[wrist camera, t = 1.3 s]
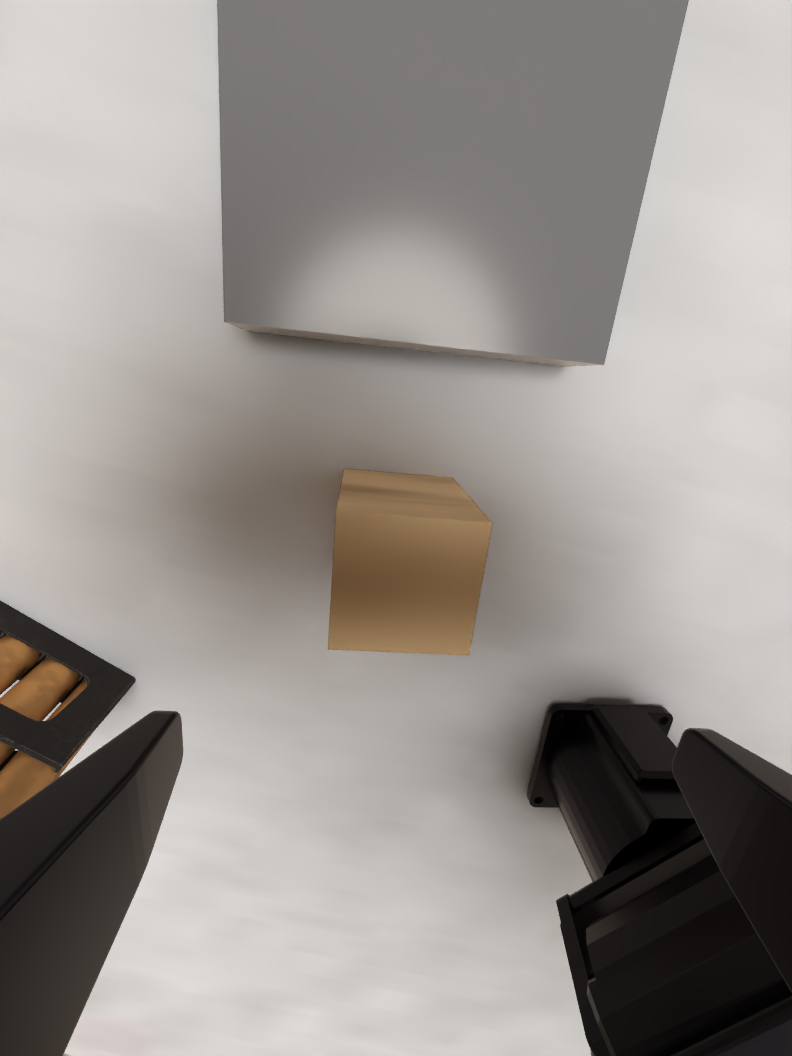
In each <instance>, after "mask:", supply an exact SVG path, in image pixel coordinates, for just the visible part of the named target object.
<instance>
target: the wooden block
mask: <svg viewBox="0 0 792 1056" xmlns="http://www.w3.org/2000/svg"><path fill="white" fill-rule="evenodd" d="M491 528H492V522H491V520H490V519H489V518H488V517H487V516H486V515H485V514H484V512H483V511H482V510H481V509H480V508H479V507H478V506H477V505H476V503H475V502H474V501H473V500H472V499H471V498H470V497H469V496H468V494H467V493H466V492H465V491H464V490H463V489H462V488H461V486H460V485H459V484H458V483H457V482H456V481H455V480H454V479H453V478H449V477H437V476H425V475H413V474H401V473H389V472H377V471H365V470H353V469H344V473H343V478H342V483H341V488H340V493H339V498H338V503H337V508H336V519H335V536H334V553H333V570H332V588H331V605H330V622H329V639H328V649H333V650H356V651H379V652H402V653H426V654H449V655H469V653H470V647H471V642H472V636H473V630H474V625H475V619H476V613H477V608H478V602H479V596H480V591H481V585H482V579H483V574H484V568H485V562H486V557H487V551H488V545H489V540H490V534H491Z"/></svg>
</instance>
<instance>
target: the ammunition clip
mask: <svg viewBox="0 0 792 1056" xmlns="http://www.w3.org/2000/svg"><path fill="white" fill-rule="evenodd" d="M17 680H20V681H19V682H18V683H17V684H16V685H15V686H14V687H13V688H11V689H10V690H9V691H8V692H7V693H6V694H5V695H4V696H3V697H1V698H0V819H1V818H2V817H4V816H5V815H7V814H8V813H9V812H11V811H12V810H14V809H15V808H16V807H18V806H19V805H21V804H22V803H24V802H25V801H26V800H28V799H29V798H31V797H32V796H33V795H35V794H36V793H38V792H39V791H40V790H42V789H43V788H45V787H46V786H48V785H49V784H50V783H52V782H53V781H55V780H56V779H57V778H58V777H59V776H60V775H61V773H62V772H63V771H64V769H65V768H66V767H67V766H68V764H69V763H70V762H71V760H72V759H73V758H74V756H75V755H76V754H77V753H78V751H79V750H80V749H81V747H82V746H83V745H84V743H85V742H86V741H87V740H88V738H89V737H90V736H91V734H92V733H93V732H94V730H95V729H96V728H97V727H98V726H99V725H100V723H101V722H102V721H103V720H104V719H105V717H106V716H107V715H108V714H109V713H110V712H111V710H112V709H113V708H114V707H115V706H116V704H117V703H118V702H119V701H120V700H121V698H122V697H123V696H124V695H125V694H126V692H127V691H128V690H129V689H130V687H131V686H132V685H133V684H134V683H135V678H134V677H133V676H131V675H129V674H127V673H126V672H124V671H122V670H120V669H119V668H117V667H115V666H113V665H112V664H110V663H108V662H106V661H105V660H103V659H101V658H99V657H98V656H96V655H94V654H92V653H91V652H89V651H87V650H85V649H84V648H82V647H80V646H78V645H77V644H75V643H73V642H71V641H70V640H68V639H66V638H64V637H63V636H61V635H59V634H58V633H56V632H54V631H52V630H51V629H49V628H47V627H45V626H44V625H42V624H40V623H38V622H37V621H35V620H33V619H31V618H30V617H28V616H26V615H24V614H23V613H21V612H19V611H17V610H16V609H14V608H12V607H10V606H9V605H7V604H5V603H3V602H2V601H0V694H2V693H3V692H4V691H5V690H6V689H7V688H8V687H10V686H11V685H12V684H13V683H14V682H15V681H17ZM59 702H61V703H62V704H61V705H60V706H59V707H58V708H57V709H56V710H55V712H54V713H53V714H52V715H51V716H50V717H49V718H48V719H47V720H46V721H42V720H43V719H44V718H45V717H46V716H47V715H48V714H49V713H50V712H51V711H52V710H53V709H54V708H55V707H56V706H57V704H58V703H59ZM15 749H17V750H19V751H14V750H15Z"/></svg>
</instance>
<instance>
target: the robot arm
mask: <svg viewBox="0 0 792 1056" xmlns="http://www.w3.org/2000/svg"><path fill="white" fill-rule="evenodd" d="M558 714H561V715H559V716H557V715H558ZM672 721H673V717H672V715H671V714H670V713H669V712H668V711H667V710H666V709H665V708H662V707H637V706H607V705H577V704H556V705H553V706H552V707H551V708H550V709H549V711H548V713H547V717H546V721H545V725H544V729H543V733H542V737H541V741H540V745H539V749H538V753H537V757H536V761H535V765H534V768H533V772H532V776H531V780H530V784H529V788H528V792H527V797H528V800H529V802H530V804H531V805H532V806H533V807H559V809H560V811H561V813H562V815H563V818H564V820H565V822H566V824H567V826H568V829H569V831H570V833H571V835H572V837H573V840H574V842H575V844H576V846H577V848H578V851H579V853H580V855H581V857H582V859H583V862H584V864H585V866H586V868H587V870H588V873H589V875H590V877H591V879H592V881H593V882H592V883H590V884H589V885H587V886H585V887H584V888H582V889H580V890H579V891H577V892H575V893H573V894H572V895H570V896H569V895H568V894H566V895H564V896H563V897H561V898H559V899H558V900H556V903H557V907H558V912H559V916H560V920H561V924H560V927H561V931H562V935H563V940H564V944H565V948H566V953H567V957H568V961H569V966H570V970H571V974H572V979H573V983H574V987H575V992H576V996H577V1000H578V1005H579V1009H580V1013H581V1018H582V1022H583V1026H584V1031H585V1035H586V1038H587V1041H588V1044H589V1046H590V1049H591V1056H792V775H791V774H789V773H787V772H786V771H784V770H782V769H780V768H778V767H777V766H775V765H773V764H771V763H770V762H768V761H766V760H764V759H763V758H761V757H759V756H757V755H756V754H754V753H752V752H750V751H748V750H747V749H745V748H743V747H741V746H740V745H738V744H736V743H734V742H733V741H731V740H729V739H727V738H726V737H724V736H722V735H720V734H719V733H717V732H715V731H713V730H710V729H703V728H689V729H686V730H685V731H684V732H683V734H682V736H681V739H680V742H679V744H678V747H676V746H675V745H674V744H673V743H672V741H671V740H670V739H669V738H668V737H667V735H668V732H669V729H670V727H671V724H672ZM182 758H183V738H182V722H181V716H180V714H179V713H178V712H176V711H153V712H151V713H149V714H148V715H146V716H145V717H143V718H142V719H141V720H139V721H138V722H136V723H135V724H134V725H132V726H131V727H129V728H128V729H127V730H125V731H124V732H122V733H121V734H119V735H118V736H117V737H115V738H114V739H112V740H111V741H110V742H108V743H107V744H105V745H104V746H103V747H101V748H100V749H98V750H97V751H95V752H94V753H93V754H91V755H90V756H88V757H87V758H86V759H84V760H83V761H81V762H80V763H79V764H77V765H76V766H74V767H73V768H72V769H70V770H69V771H67V772H66V773H64V774H63V775H62V776H60V777H59V778H57V779H56V780H55V781H53V782H52V783H50V784H49V785H48V786H46V787H45V788H43V789H42V790H40V791H39V792H38V793H36V794H35V795H33V796H32V797H31V798H29V799H28V800H26V801H25V802H24V803H22V804H21V805H19V806H18V807H16V808H15V809H14V810H12V811H11V812H9V813H8V814H7V815H5V816H4V817H2V818H1V819H0V1056H63V1054H64V1052H65V1049H66V1047H67V1045H68V1043H69V1041H70V1038H71V1036H72V1034H73V1032H74V1029H75V1027H76V1025H77V1023H78V1020H79V1018H80V1016H81V1014H82V1011H83V1009H84V1007H85V1005H86V1002H87V1000H88V998H89V996H90V993H91V991H92V989H93V987H94V984H95V982H96V980H97V978H98V975H99V973H100V971H101V969H102V967H103V964H104V962H105V960H106V958H107V955H108V953H109V951H110V949H111V946H112V944H113V942H114V940H115V937H116V935H117V933H118V931H119V928H120V926H121V924H122V922H123V919H124V917H125V915H126V913H127V910H128V908H129V906H130V904H131V901H132V899H133V897H134V895H135V893H136V890H137V888H138V886H139V883H140V881H141V879H142V876H143V874H144V871H145V869H146V866H147V864H148V861H149V858H150V855H151V852H152V850H153V847H154V844H155V841H156V838H157V835H158V832H159V829H160V826H161V823H162V820H163V817H164V814H165V811H166V808H167V805H168V802H169V799H170V796H171V793H172V790H173V787H174V784H175V781H176V778H177V775H178V773H179V770H180V766H181V763H182Z"/></svg>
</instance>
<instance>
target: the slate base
mask: <svg viewBox="0 0 792 1056" xmlns="http://www.w3.org/2000/svg"><path fill="white" fill-rule="evenodd" d="M688 1H689V0H217V10H218V57H219V104H220V151H221V197H222V244H223V291H224V322H226V323H229V324H231V325H234V326H236V327H239V328H241V329H244V330H247V331H251V332H259V333H268V334H277V335H286V336H295V337H304V338H313V339H322V340H331V341H340V342H349V343H358V344H367V345H376V346H385V347H394V348H403V349H412V350H421V351H430V352H439V353H447V354H456V355H465V356H474V357H483V358H492V359H501V360H510V361H519V362H528V363H537V364H546V365H555V366H564V367H566V366H587V365H604V362H605V358H606V354H607V349H608V345H609V341H610V336H611V332H612V328H613V323H614V319H615V315H616V311H617V306H618V302H619V298H620V293H621V289H622V285H623V280H624V276H625V272H626V268H627V263H628V259H629V255H630V250H631V246H632V242H633V237H634V233H635V229H636V225H637V220H638V216H639V212H640V207H641V203H642V199H643V194H644V190H645V186H646V182H647V177H648V173H649V169H650V164H651V160H652V156H653V151H654V147H655V143H656V139H657V134H658V130H659V126H660V121H661V117H662V113H663V108H664V104H665V100H666V96H667V91H668V87H669V83H670V78H671V74H672V70H673V65H674V61H675V57H676V53H677V48H678V44H679V40H680V35H681V31H682V27H683V22H684V18H685V14H686V10H687V5H688Z"/></svg>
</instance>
